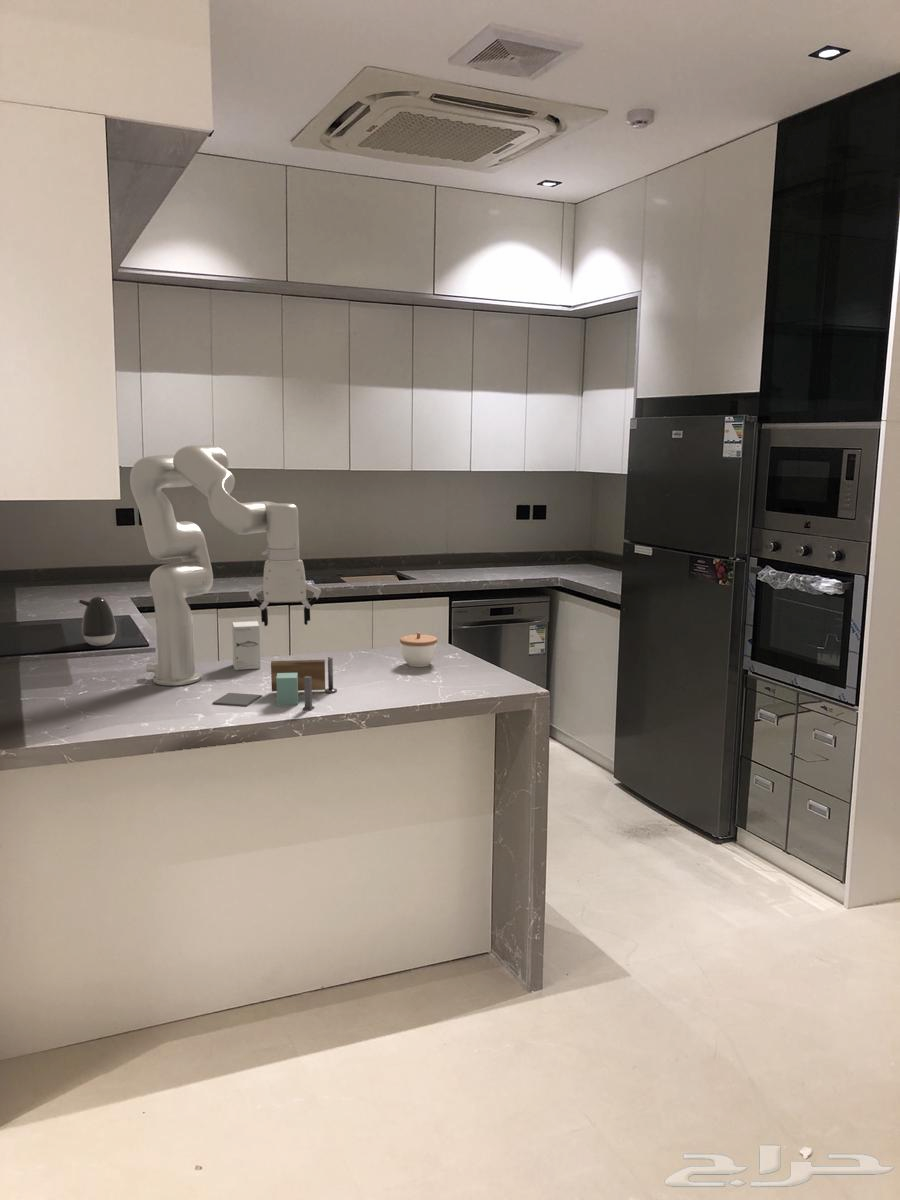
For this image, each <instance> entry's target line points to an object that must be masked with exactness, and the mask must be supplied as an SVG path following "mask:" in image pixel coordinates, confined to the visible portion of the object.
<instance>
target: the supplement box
mask: <svg viewBox="0 0 900 1200" xmlns="http://www.w3.org/2000/svg"><path fill="white" fill-rule="evenodd" d="M231 637H232V638H231V639H232V640H231V641H232V663H233V668H234V670H235V671H238V670H239V671H240V670H260V669H261V647H260V645H261V644H260V643H261V642H260V640H261V638H260V624H259V621H258V620H255V621H234V622H231Z"/></svg>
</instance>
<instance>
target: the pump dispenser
mask: <svg viewBox="0 0 900 1200" xmlns="http://www.w3.org/2000/svg"><path fill="white" fill-rule="evenodd" d="M79 604H81V605H83V606H86V608H85V609H84V613H83V618H82V624H81V635H82V636H83V638H84V641H85V642H86V643H88V645H91V646H94V647H102V646H108V645H109V644H111V643H112V642H113V641H114V639H115V638H116V637H115V636H116V634H117V624H116V620H115V616H114V613H113V611H112V609H111V606H110V605H109V603H108V601H107V600H106V599H105V597H104V598H103V597H101V596H94V597H92V598H91V599H89V601H87V600H83V599H80V600H79Z"/></svg>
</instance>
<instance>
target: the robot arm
mask: <svg viewBox="0 0 900 1200" xmlns="http://www.w3.org/2000/svg"><path fill="white" fill-rule="evenodd" d="M229 466H230V465H229V457H228V455H227V454H226V451H224V450H223V449H222V448H220V447H219V446H216V445H214V444H213V445H211V444H209V445H208V444H206V445H205V444H204V445H203V444H202V445H196V444H195V445H192V444H191V445H186V446H183V447H181V448H179V449H178V450H177V451H176V452H175V454H171V455H169V454H167V455H166V454H161V455H150V456H149V455H148V456H145V457H142V458H140V459H138V460H137V461H136V462H135V463H134V464H133V466H132V467H131V470H130V475H129V484H130V486H129V487H130V489H131V493H132V495H133V498H134V500H135V503H136V505H137V508H138V511H139V514H140V515H139V516H140V519H141V524H142V529H143V533H144V537H145V543H146V545H147V548H148V549H147V550H148V552H149V554H150V555H151V557H152V558H154V559H156V560H170V559H171V560H172V559H178V558H180V559H181V561H180V562H179V561H178V562H175V563H174V562H173V563H167V564H163V565H161V566H159V567H157V568H155V569H154V570H153V571H152V572H151V574H150V577H149V587H150V588H149V589H150V591H151V592H150V593H151V596H152V601H153V605H154V612H155V627H156V631H155V632H156V644H157V645H156V646H157V647H156V648H157V663H152V662H151V663H150V662H148V663H146V668H145V670H146V672H149V673H154V675H153V677H152V681H153V683H154V684H156V685H161V686H169V687H171V686H174V687H175V686H185V685H190V684H194V683H198V681H201V679H202V674H201V672H199V671H198V670H197V671H196V657H195V655H196V654H195V639H194V638H195V637H194V635H195V634H194V618H193V612H192V610H191V607H190V605H189V604H188V602H187V600H186V598H189V597H195V596H200V595H201V596H202V595H205V594H206V593H208V592H209V591H210V590H211V588H212V587H213V584H214V573H213V568H212V564H211V563H212V562H211V559H210V555H209V550H208V546H207V541H206V537H205V535H204V532H203V531H202V530H201V527H200V526H199V525H198V524H197V523H194V522H193V521H187V520H186V521H177V520H176V517H175V512H174V508H173V505H172V503H171V501H170V499H169V498H168V497H167V496H166V494H164V493H163V491H162V489H164V488H165V489H167V488H170V489H171V488H185V487H192V486H194V487H195V488H196V489H197V490H198V491H199V492H200V493H202V494H203V495H205V496H206V497H207V501H208V502H207V503H208V507H209V509H210V512H211V514H212V515H213V518H215V519H216V520H217V521H218V522H219V523H220V524H221V525H222V526H224V527H225V528H227V529H228V530H229V531H231V532H232V533H234V534H237V535H251V534H260V533H266V536H267V537H266V538H267V539H266V540H267V548H266V549H265V550H261V557H266V558H267V560H265V561H264V565H263V581H262V582H263V584H260V585H258V586H256V587H254V588H253V589H251V590H249V592H248V595H249V597H250V599H251V600H252V602H253V603H254V605H256V606H257V608H259V609H260V611H261V612H260V613H261V614H260V615H261V623H264V625H263V626H264V627H267V626H268V625H269V614H268V613H269V612H268V607H267V606H268V605H269V604H270V603H271V604H274V603H276V604H278V603H279V604H281V603H302V605H303V606H304V607H303V619H304V620H303V624H304V625H305V626H307V625H308V622H309V621H311V611H310V610H311V608H312V607H313V605H314V604H315V603H316V602H317V601H318V599H319V597H320V595H321V593H322V590H321V589H320V588H318V587H316V586H314V585H312V584H310V583H308V582H307V580H306V573H305V572H306V571H305V565H304V561H303V560H302V559H300V529H299V528H300V527H299V509H298V506H297V505H295V504H294V503H287V502H286V503H284V502H283V503H277V502H273V501H266V500H265V501H263V500H262V501H253V502H252V501H251V502H239V501H237V499H236V498H234V497H233V496H231V493H232V492H233V489H234V487H235V483H236V479H235V476H234V474H233V473H232V472H231V471H229V470H228V469H229ZM307 590H308V591H309V592H312V593H313V596H312V597H311V599H309V600H308V598H307ZM262 591H263V599H264V600H263V601H262V600H261V599H259V598H258V596H257V594H258V593H260V592H262Z"/></svg>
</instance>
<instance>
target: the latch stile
mask: <svg viewBox="0 0 900 1200" xmlns="http://www.w3.org/2000/svg"><path fill="white" fill-rule="evenodd" d="M303 695H304V707H302V711H312V710H313V709H315V706H314V705H313V690H312V676H306V677H304V694H303Z"/></svg>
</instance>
